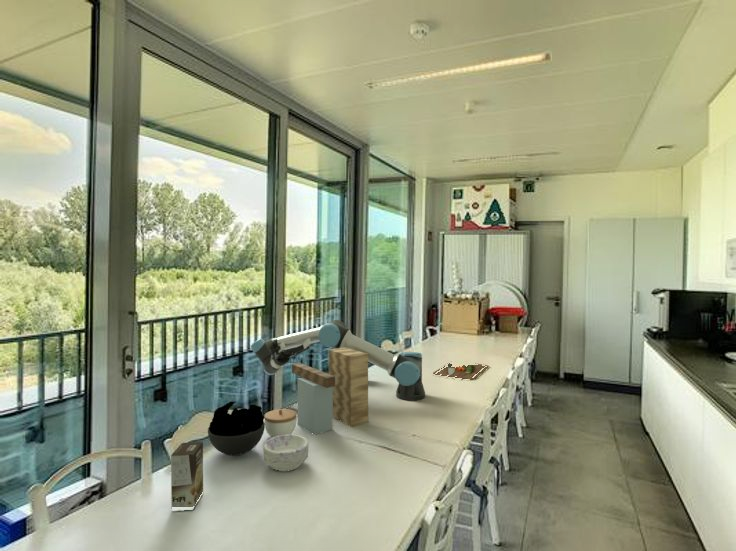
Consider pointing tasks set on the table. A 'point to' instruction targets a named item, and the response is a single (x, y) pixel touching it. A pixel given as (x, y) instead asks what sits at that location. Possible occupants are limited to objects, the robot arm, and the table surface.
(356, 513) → the table surface
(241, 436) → the coal bowl
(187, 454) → the coffee box
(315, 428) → the base block
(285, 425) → the lidded bowl
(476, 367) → the chopping board
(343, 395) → the tall stand
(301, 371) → the walnut block
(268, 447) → the paper bowls
